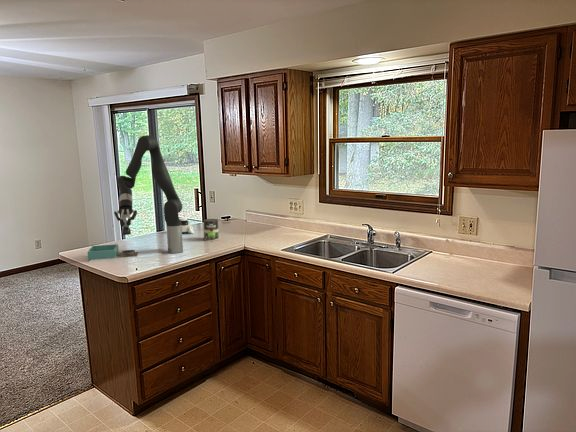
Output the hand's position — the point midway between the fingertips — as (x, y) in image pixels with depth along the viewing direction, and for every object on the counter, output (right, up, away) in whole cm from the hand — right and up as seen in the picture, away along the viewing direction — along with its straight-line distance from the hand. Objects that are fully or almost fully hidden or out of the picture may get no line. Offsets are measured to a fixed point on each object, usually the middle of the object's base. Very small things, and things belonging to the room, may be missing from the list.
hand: (125, 225), depth 256 cm
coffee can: (+43, -11, +49) cm, 66 cm away
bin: (-14, -20, +4) cm, 25 cm away
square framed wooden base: (0, -19, +5) cm, 20 cm away
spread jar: (+20, -8, +70) cm, 74 cm away
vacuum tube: (0, -5, +3) cm, 6 cm away
